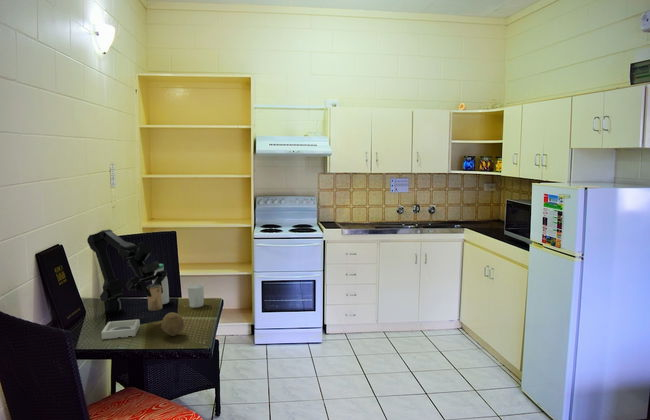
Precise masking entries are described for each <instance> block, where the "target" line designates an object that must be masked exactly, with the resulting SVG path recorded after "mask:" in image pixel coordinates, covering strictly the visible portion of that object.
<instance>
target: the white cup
mask: <svg viewBox="0 0 650 420" xmlns="http://www.w3.org/2000/svg"><path fill="white" fill-rule="evenodd" d="M204 287H205V285H204V284H200V283H195V284H189V285H187V287H186V288H187V296H188V302H189V303H188V304H189V307H190V308H192V309H193V308H194V309H195V308H196V309H197V308H201V307H203V306H204V304H205V303H204V299H205V297H204V295H205V293H204V292H205V288H204Z"/></svg>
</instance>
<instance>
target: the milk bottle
mask: <svg viewBox="0 0 650 420" xmlns="http://www.w3.org/2000/svg"><path fill="white" fill-rule="evenodd" d="M159 265H160V267H159V268H157V269H158V270H155V271H154V273H153V276H154V275H155V274H156V273H157V272H158V271H162V270H164V268H165V266H164V263H159ZM151 282H152V283H151V284H154V281H153V280H151ZM161 283H162V289H163V293H162V305H165V304H168V303H169V302H170V296H169V295H170V293H169V292H170V291H169V280H168V275H166V277H165V278H164V280H163V281H161Z"/></svg>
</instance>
